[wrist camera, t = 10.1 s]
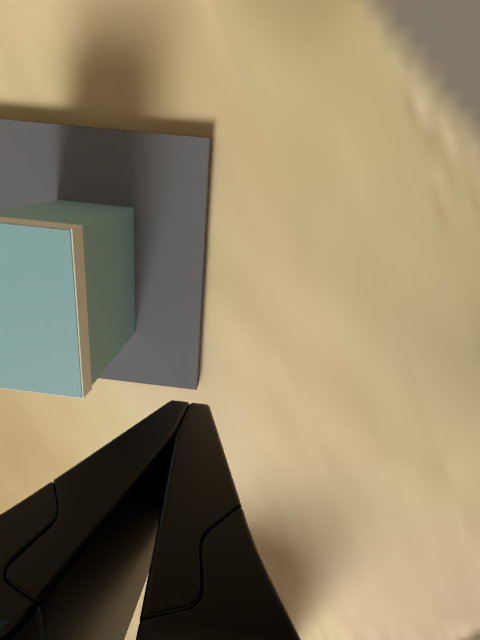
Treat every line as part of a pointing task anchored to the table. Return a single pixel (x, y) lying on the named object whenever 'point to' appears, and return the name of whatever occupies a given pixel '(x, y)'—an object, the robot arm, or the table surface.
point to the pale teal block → (64, 294)
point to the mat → (149, 226)
